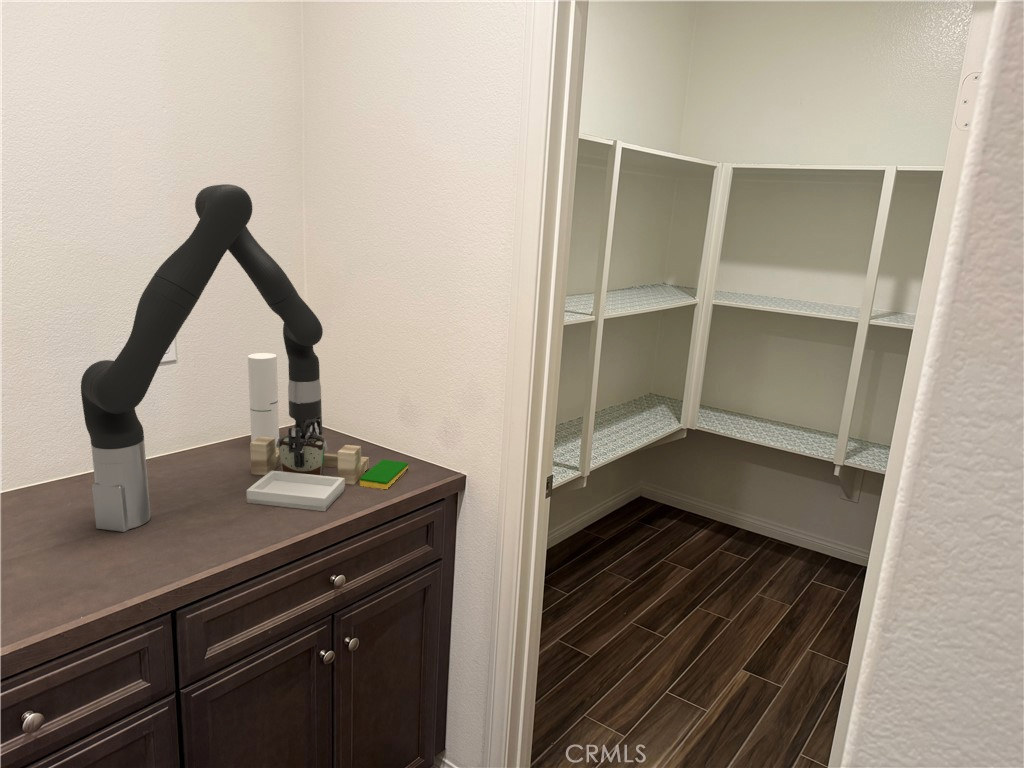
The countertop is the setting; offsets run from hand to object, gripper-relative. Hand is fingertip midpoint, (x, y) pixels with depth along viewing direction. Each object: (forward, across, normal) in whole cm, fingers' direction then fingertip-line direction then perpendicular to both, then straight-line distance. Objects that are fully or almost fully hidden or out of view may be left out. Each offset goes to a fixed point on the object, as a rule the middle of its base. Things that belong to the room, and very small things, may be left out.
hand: (306, 460), depth 170 cm
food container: (+4, 0, 0) cm, 4 cm away
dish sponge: (+5, -3, +19) cm, 19 cm away
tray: (+4, +12, +3) cm, 13 cm away
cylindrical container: (+4, -17, -19) cm, 26 cm away
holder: (+4, -3, 0) cm, 5 cm away
